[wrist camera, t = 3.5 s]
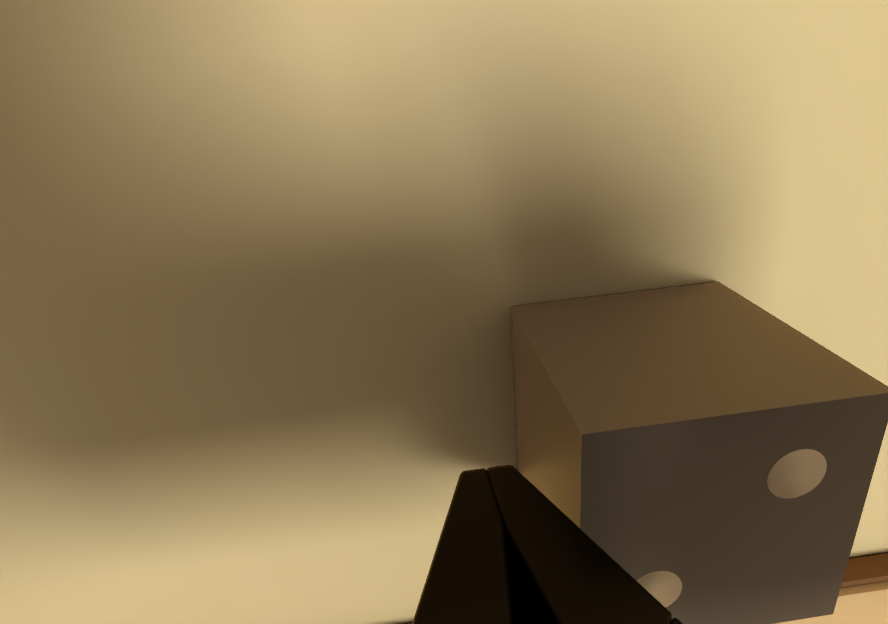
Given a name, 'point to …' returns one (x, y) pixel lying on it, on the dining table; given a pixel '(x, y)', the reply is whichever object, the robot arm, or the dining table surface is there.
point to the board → (859, 594)
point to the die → (699, 446)
